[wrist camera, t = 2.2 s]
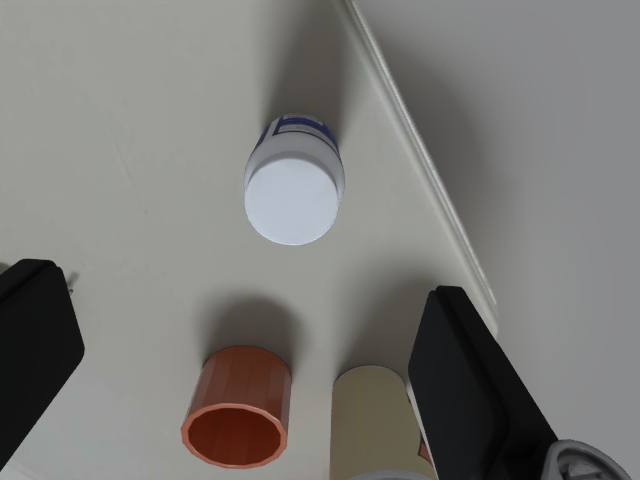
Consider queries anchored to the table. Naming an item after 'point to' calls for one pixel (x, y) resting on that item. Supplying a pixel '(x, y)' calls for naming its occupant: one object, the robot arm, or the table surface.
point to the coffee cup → (375, 429)
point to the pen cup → (239, 409)
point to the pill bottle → (294, 180)
